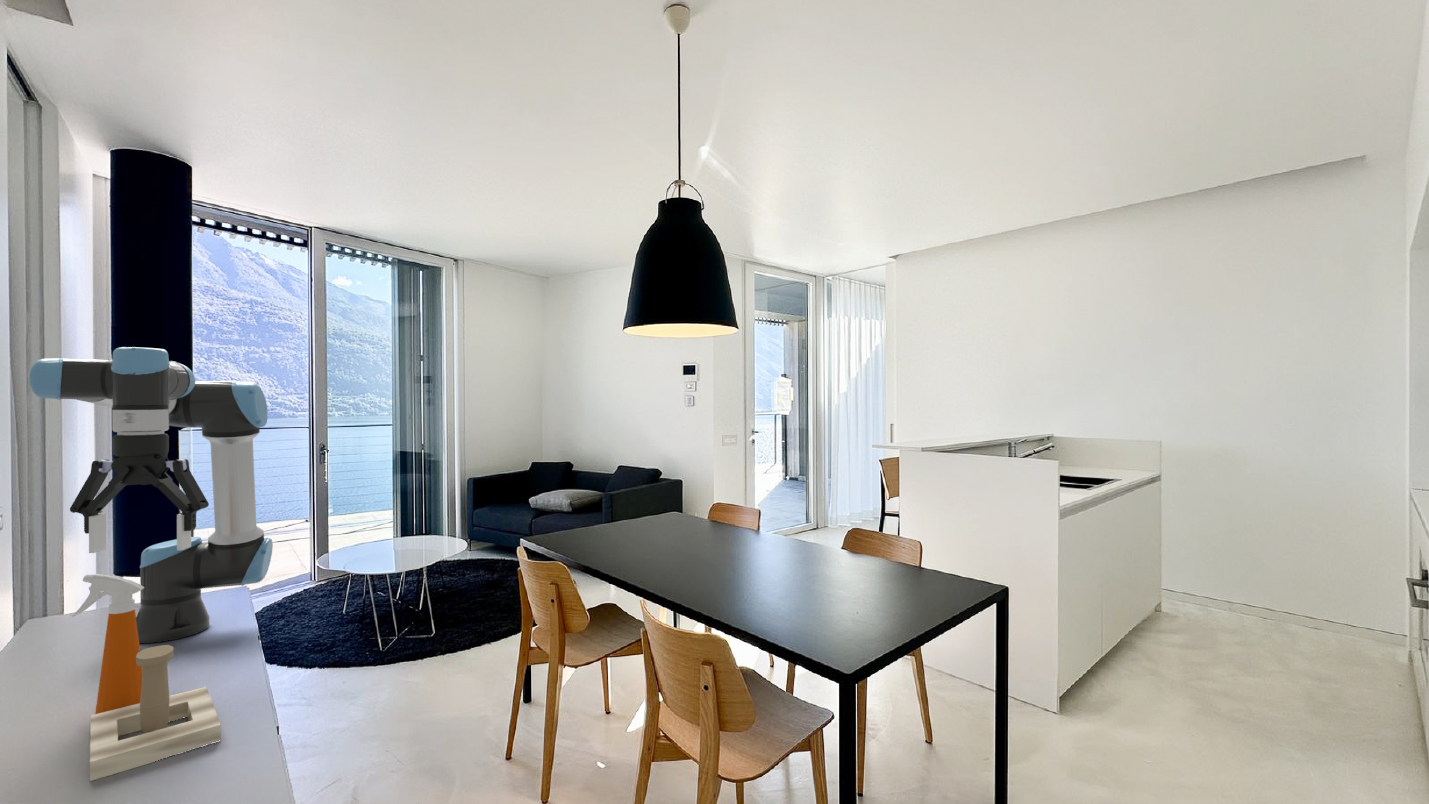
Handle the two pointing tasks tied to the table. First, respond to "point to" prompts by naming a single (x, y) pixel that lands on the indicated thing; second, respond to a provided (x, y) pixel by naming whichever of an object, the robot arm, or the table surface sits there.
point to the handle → (154, 687)
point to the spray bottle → (117, 642)
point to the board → (151, 734)
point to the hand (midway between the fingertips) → (141, 550)
